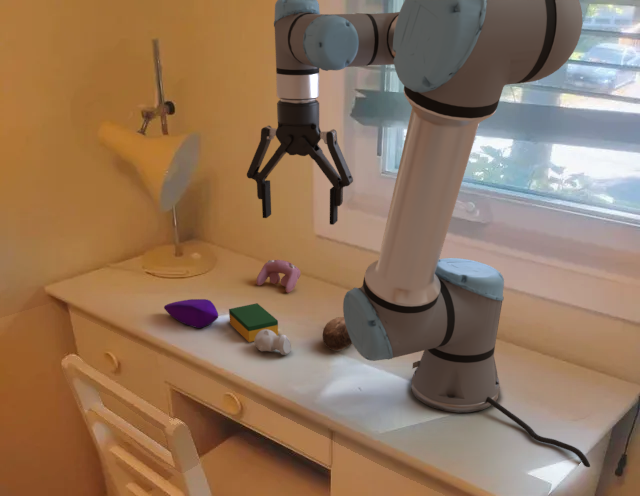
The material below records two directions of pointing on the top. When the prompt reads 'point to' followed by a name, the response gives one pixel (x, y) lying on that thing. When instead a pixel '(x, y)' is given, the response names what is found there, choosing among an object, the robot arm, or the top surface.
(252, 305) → the sponge
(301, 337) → the top surface
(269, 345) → the smooth white sculpture
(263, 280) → the video game controller
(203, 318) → the purple rounded wedge
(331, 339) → the brown round lump
